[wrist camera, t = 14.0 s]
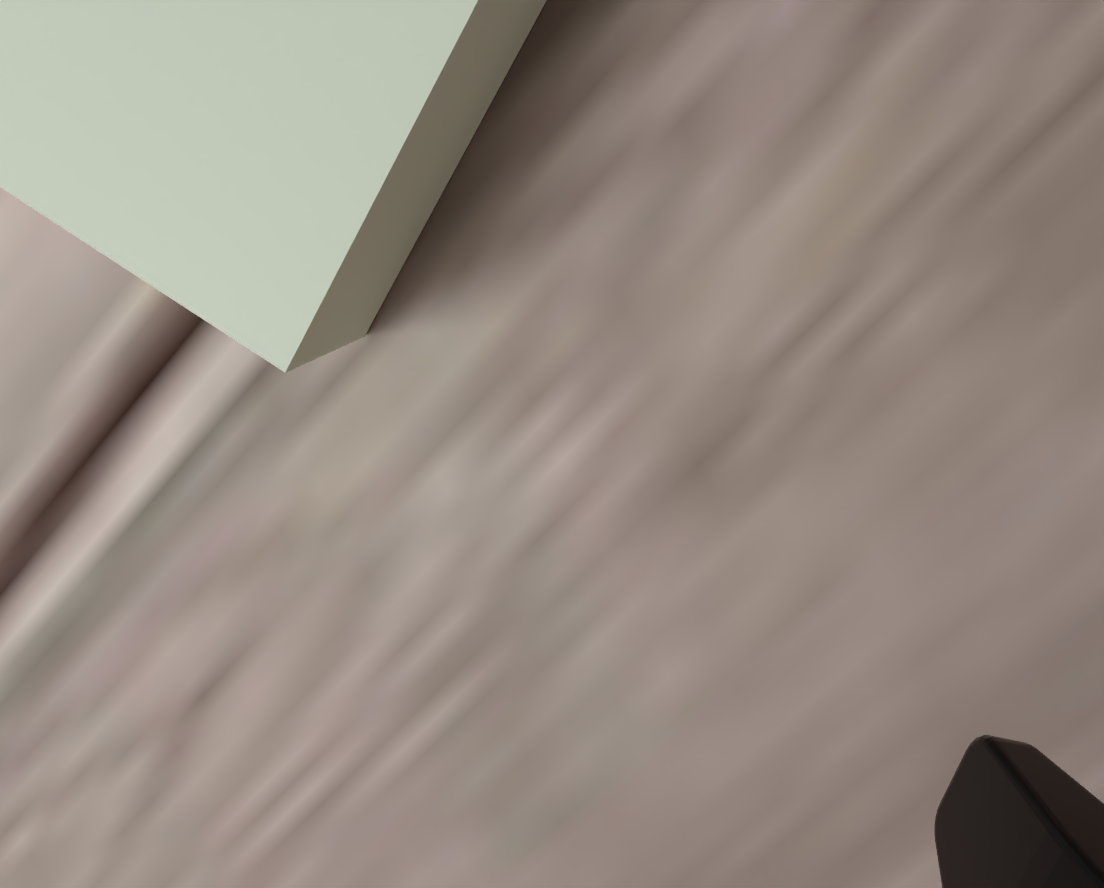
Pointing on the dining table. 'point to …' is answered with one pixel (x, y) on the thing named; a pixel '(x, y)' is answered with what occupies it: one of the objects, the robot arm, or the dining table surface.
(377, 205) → the socket block
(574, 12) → the dining table surface
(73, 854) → the dining table surface
